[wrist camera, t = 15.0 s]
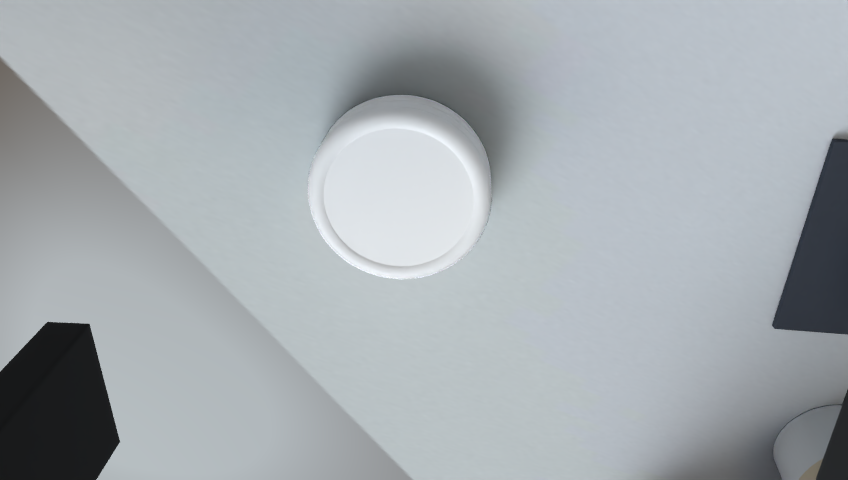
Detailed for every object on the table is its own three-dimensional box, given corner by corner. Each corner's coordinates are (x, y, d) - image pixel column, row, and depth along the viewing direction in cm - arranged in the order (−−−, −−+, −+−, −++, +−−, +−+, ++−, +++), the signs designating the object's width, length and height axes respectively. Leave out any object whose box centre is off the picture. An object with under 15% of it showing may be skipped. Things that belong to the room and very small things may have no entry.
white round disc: (499, 245, 42) (501, 273, 39) (337, 262, 44) (326, 291, 41) (480, 80, 38) (480, 97, 35) (301, 104, 39) (285, 123, 36)
